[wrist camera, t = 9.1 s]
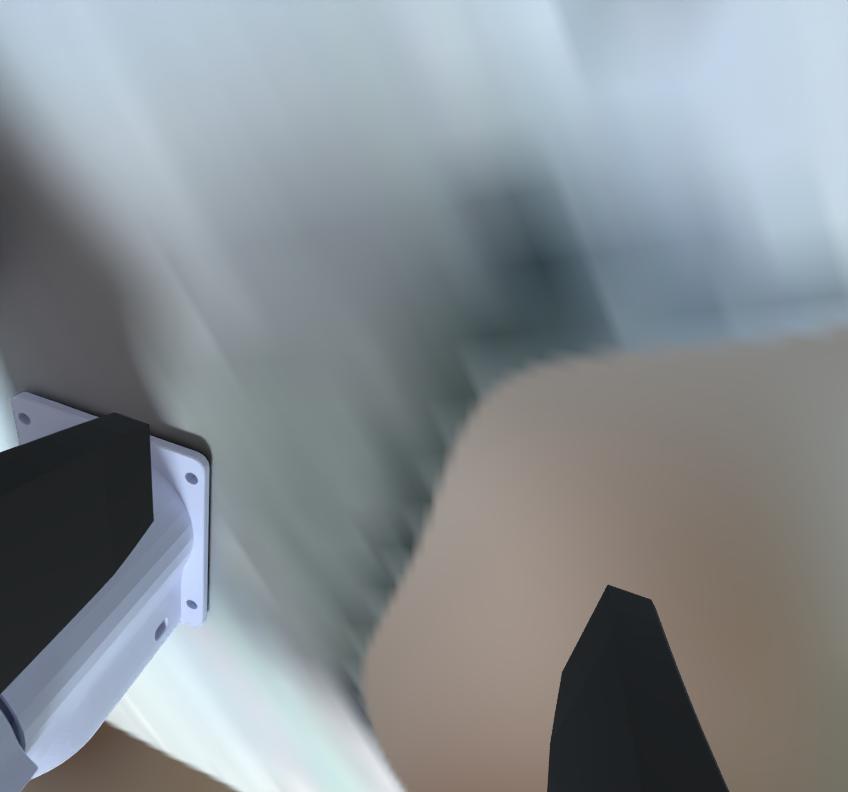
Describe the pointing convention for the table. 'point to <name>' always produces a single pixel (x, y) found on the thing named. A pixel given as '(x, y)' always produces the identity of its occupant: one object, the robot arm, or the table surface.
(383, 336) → the table surface
